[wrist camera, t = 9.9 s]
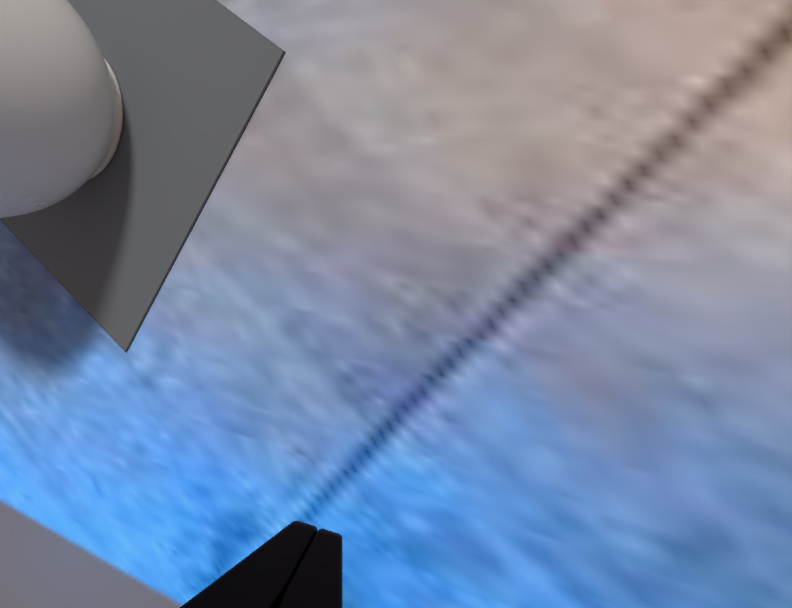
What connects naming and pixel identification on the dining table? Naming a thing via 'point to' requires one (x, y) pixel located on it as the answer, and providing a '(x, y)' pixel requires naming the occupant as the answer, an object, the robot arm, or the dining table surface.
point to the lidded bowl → (52, 105)
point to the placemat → (152, 151)
